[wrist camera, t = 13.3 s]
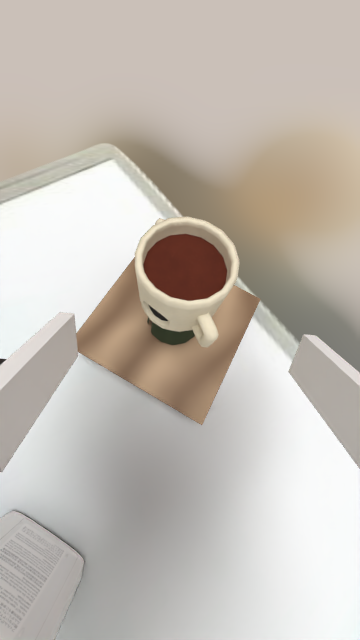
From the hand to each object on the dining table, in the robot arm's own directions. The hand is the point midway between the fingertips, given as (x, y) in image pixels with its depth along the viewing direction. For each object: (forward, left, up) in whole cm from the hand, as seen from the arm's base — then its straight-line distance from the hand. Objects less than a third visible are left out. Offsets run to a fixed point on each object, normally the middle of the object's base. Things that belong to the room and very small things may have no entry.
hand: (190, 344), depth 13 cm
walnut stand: (-3, +5, -18) cm, 19 cm away
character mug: (-3, +5, -13) cm, 14 cm away
